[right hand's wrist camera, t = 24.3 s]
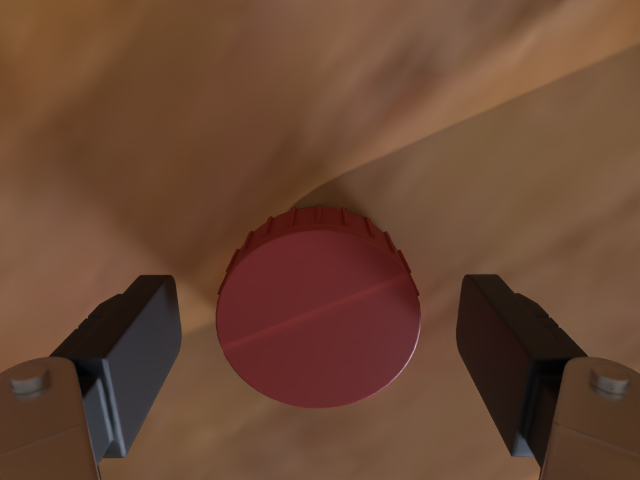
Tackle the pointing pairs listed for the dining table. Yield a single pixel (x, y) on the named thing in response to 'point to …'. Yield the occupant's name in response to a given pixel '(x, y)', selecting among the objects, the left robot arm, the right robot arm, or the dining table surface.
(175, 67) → the dining table surface
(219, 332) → the lid
